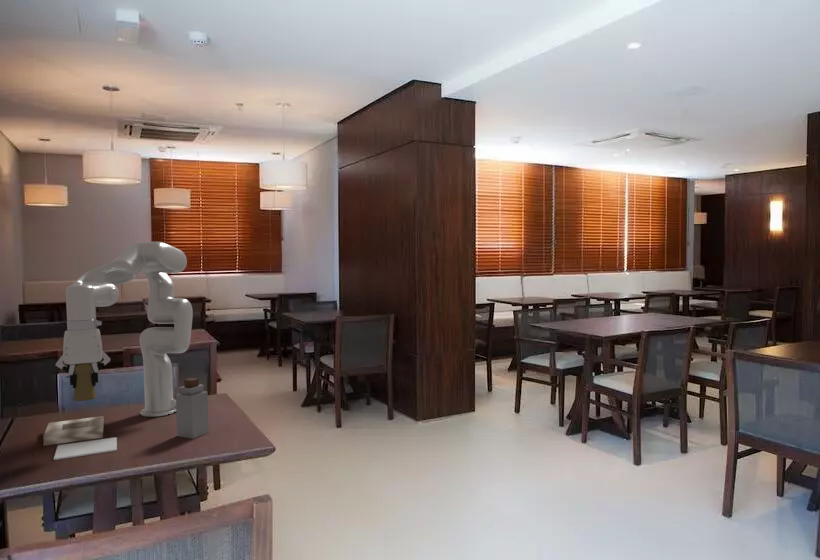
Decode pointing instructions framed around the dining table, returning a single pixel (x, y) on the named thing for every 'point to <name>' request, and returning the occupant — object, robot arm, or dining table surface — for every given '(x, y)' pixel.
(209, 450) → the dining table surface
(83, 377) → the cork
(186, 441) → the dining table surface
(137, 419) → the dining table surface
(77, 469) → the dining table surface
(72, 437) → the shaker holder
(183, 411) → the perfume bottle
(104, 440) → the grey mat
